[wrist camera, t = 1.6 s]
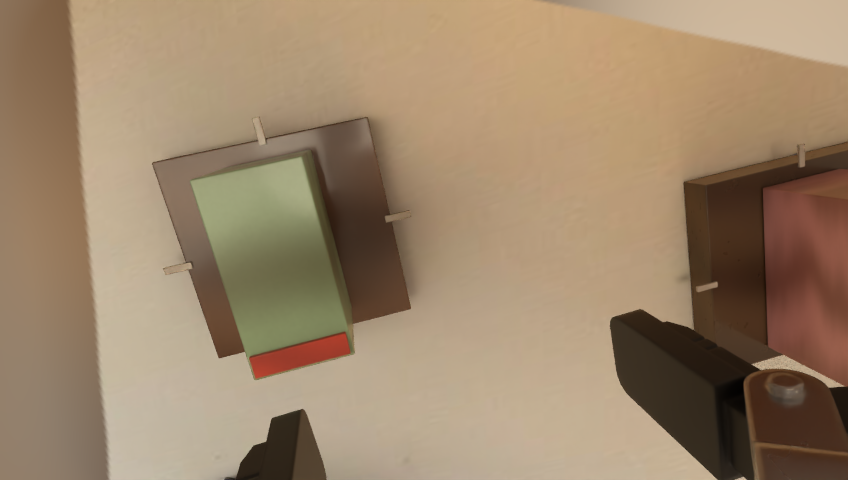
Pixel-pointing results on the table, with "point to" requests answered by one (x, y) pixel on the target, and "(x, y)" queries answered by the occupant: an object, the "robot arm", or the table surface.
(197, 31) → the table surface
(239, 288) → the green rectangular block
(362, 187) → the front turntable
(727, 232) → the brown square platform
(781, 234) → the pink rectangular block
